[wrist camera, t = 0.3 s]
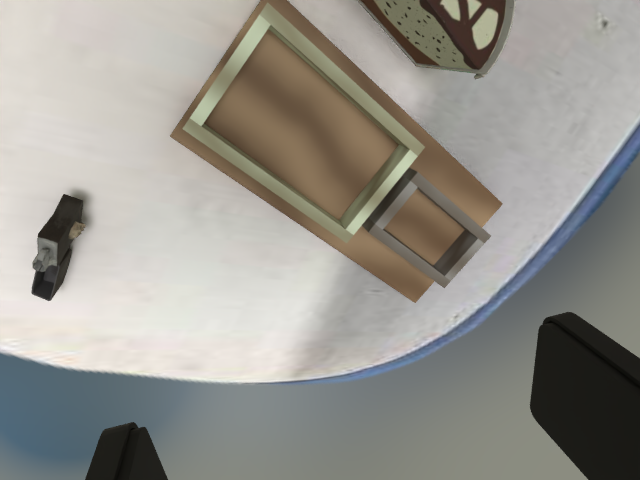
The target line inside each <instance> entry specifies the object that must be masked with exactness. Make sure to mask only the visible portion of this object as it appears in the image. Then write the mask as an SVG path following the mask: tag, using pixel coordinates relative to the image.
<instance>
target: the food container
mask: <svg viewBox="0 0 640 480" xmlns="http://www.w3.org/2000/svg"><path fill="white" fill-rule="evenodd" d="M357 1H358V2H359V3H360V4H361V5H362V6H363V7H364V8H365V10H366V11H367V12H368V13H369V14H370V15H371V16H372V17H373V18H374V20H375V21H376V22H377V23H378V24H379V25H380V26H381V27H382V29H383V30H384V31H385V32H386V33H387V34H388V35H389V36H390V37H391V39H392V40H393V41H394V42H395V43H396V44H397V45H398V46H399V47H400V49H401V50H402V51H403V52H404V53H405V54H406V55H407V56H408V58H409V59H410V60H411V61H412V62H413V63H414V64H415V65H416V66H419V67H427V68H435V69H444V70H452V71H460V72H468V73H476V75H475V77H474V78H475V79H478V78H481V77H484V76H485V75H486V74H488V72H489V71H490V70H491V68H492V67H493V66H494V64H495V63H496V61H497V60H498V58H499V56H500V54H501V53H502V51H503V49H504V46H505V44H506V42H507V39H508V37H509V33H510V30H511V27H512V23H513V18H514V12H515V3H516V0H357Z"/></svg>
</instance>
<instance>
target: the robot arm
mask: <svg viewBox="0 0 640 480" xmlns="http://www.w3.org/2000/svg"><path fill="white" fill-rule="evenodd" d="M530 409H531V412H532V415H533V417H534V418H535V420H536V421H537V422H538V424H539V425H540V426H541V427H542V428H543V429H544V430H545V431H546V432H547V434H548V435H549V436H550V437H551V438H552V439H553V440H554V441H555V443H556V444H557V445H558V446H559V447H560V448H561V449H562V450H563V452H564V453H565V454H566V455H567V456H568V457H569V458H570V459H571V461H572V462H573V463H574V464H575V465H576V466H577V467H578V468H579V469H580V471H581V472H582V473H583V474H584V475H585V476H586V477H587V479H588V480H640V358H638V357H637V356H635V355H634V354H633V353H631V352H630V351H628V350H627V349H625V348H624V347H622V346H621V345H620V344H618V343H617V342H615V341H614V340H612V339H611V338H609V337H608V336H607V335H605V334H603V333H602V332H601V331H599V330H598V329H596V328H595V327H593V326H592V325H591V324H589V323H588V322H586V321H585V320H583V319H582V318H580V317H579V316H577V315H576V314H574V313H572V312H566V313H562V314H558V315H555V316H550V317H547V318H546V319H545V320H544V321H543V325H541V326H540V328H539V333H538V340H537V350H536V358H535V366H534V375H533V384H532V394H531V402H530ZM85 480H168V479H167V476H166V474H165V471H164V469H163V467H162V464H161V462H160V460H159V457H158V455H157V452H156V450H155V447H154V445H153V443H152V440H151V438H150V435H149V433H148V431H147V429H146V428H145V427H141V428H138V427H137V425H136V424H135V423H134V422H131V423H128V424H124V425H120V426H116V427H112V428H108V429H105V430H104V431H103V432H102V434H101V436H100V439H99V441H98V444H97V447H96V450H95V453H94V456H93V459H92V462H91V465H90V467H89V470H88V473H87V476H86V479H85Z"/></svg>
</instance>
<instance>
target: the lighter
mask: <svg viewBox="0 0 640 480" xmlns="http://www.w3.org/2000/svg"><path fill="white" fill-rule="evenodd" d="M82 206H83V201H82V200H80V199H77V198H74V197H71V196H68V195H65V194H63V196H62V198H61V200H60V202H59V204H58V206H57V208H56V210H55V212H54V214H53V215H52V217H51V218H50V219H49V221H48V222H47V223H46V224H45V226H44V227H43V228H42V230H41V231H40V232H39V233H38V238H37V241H38V254H37V256H36V258H35V259H34V261H33V268H34V269H35V270H36V272H35V277H34V281H33V285H32V294H33V295H36V296H38V297H40V298H43V299H45V300H48V301H51V299H52V298H53V296H54V295H55V293H56V292H57V290H58V289H59V288H60V286H61V285H62V283H63V280H64V278H65V275H66V272H67V268H68V265H69V261H70V257H71V249H69V246H70V245H71V243H72V241H73V239H74V238H76V237H78V236H79V235H80V234H81V231H83V230H84V229H83V228H85V227H86V225H85V224H84V223H81V216H82Z"/></svg>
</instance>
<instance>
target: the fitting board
mask: <svg viewBox="0 0 640 480" xmlns="http://www.w3.org/2000/svg"><path fill="white" fill-rule="evenodd" d="M170 137H172V138H173V139H175V140H176V141H178V142H179V143H181V144H182V145H183V146H185V147H186V148H188V149H189V150H191V151H192V152H194V153H195V154H197V155H198V156H200V157H201V158H203V159H204V160H206V161H207V162H209V163H210V164H211V165H213V166H214V167H216V168H217V169H219V170H220V171H222V172H223V173H225V174H226V175H228V176H229V177H231V178H232V179H234V180H235V181H236V182H238V183H239V184H241V185H242V186H244V187H245V188H247V189H248V190H250V191H251V192H253V193H254V194H256V195H257V196H259V197H260V198H261V199H263V200H264V201H266V202H267V203H269V204H270V205H272V206H273V207H275V208H276V209H278V210H279V211H281V212H282V213H284V214H285V215H286V216H288V217H289V218H291V219H292V220H294V221H295V222H297V223H298V224H300V225H301V226H303V227H304V228H306V229H307V230H309V231H310V232H312V233H313V234H314V235H316V236H317V237H319V238H320V239H322V240H323V241H325V242H326V243H328V244H329V245H331V246H332V247H334V248H335V249H337V250H338V251H339V252H341V253H342V254H344V255H345V256H347V257H348V258H350V259H351V260H353V261H354V262H356V263H357V264H359V265H360V266H362V267H363V268H364V269H366V270H367V271H369V272H370V273H372V274H373V275H375V276H376V277H378V278H379V279H381V280H382V281H384V282H385V283H387V284H388V285H390V286H391V287H392V288H394V289H395V290H397V291H398V292H400V293H401V294H403V295H404V296H406V297H407V298H409V299H410V300H412V301H413V302H415V303H416V302H417V300H418V299H419V298H420V297H421V296H422V295H423V294H424V293H425V291H426V290H427V289H428V288H429V287H430V286H431V285H432V283H433V282H434V281H435V282H437V283H438V284H439V285H441V286H442V287H444V288H445V287H446V286H447V285H448V284H449V282H450V281H451V280H452V279H453V278H454V277H455V276H456V275H457V274H458V272H459V271H460V270H461V269H462V268H463V267H464V266H465V265H466V263H467V262H468V261H469V260H470V259H471V258H472V257H473V256H474V254H475V253H476V252H477V251H478V250H479V249H480V248H481V247H482V246H483V244H484V243H485V242H486V241H487V240H488V239H489V238H490V237H491V235H489V234H488V233H487V232H486V231H485V230H484V229H483V228H482V227H483V226H484V225H485V223H486V222H487V221H488V220H489V219H490V218H491V217H492V216H493V214H494V213H495V212H496V211H497V210H498V209H499V208H500V206H501V205H502V203H501V202H500V201H499V200H498V199H497V198H496V197H495V196H494V195H493V194H492V193H491V192H490V191H489V190H488V189H487V188H485V187H484V186H483V185H482V184H481V183H480V182H479V181H478V180H477V179H476V178H475V177H474V176H473V175H472V174H471V173H470V172H468V171H467V170H466V169H465V168H464V167H463V166H462V165H461V164H460V163H459V162H458V161H457V160H456V159H455V158H454V157H453V156H452V155H450V154H449V153H448V152H447V151H446V150H445V149H444V148H443V147H442V146H441V145H440V144H439V143H438V142H437V141H436V140H435V139H433V138H432V137H431V136H430V135H429V134H428V133H427V132H426V131H425V130H424V129H423V128H422V127H421V126H420V125H419V124H418V123H417V122H415V121H414V120H413V119H412V118H411V117H410V116H409V115H408V114H407V113H406V112H405V111H404V110H403V109H402V108H401V107H400V106H398V105H397V104H396V103H395V102H394V101H393V100H392V99H391V98H390V97H389V96H388V95H387V94H386V93H385V92H384V91H383V90H381V89H380V88H379V87H378V86H377V85H376V84H375V83H374V82H373V81H372V80H371V79H370V78H369V77H368V76H367V75H366V74H365V73H363V72H362V71H361V70H360V69H359V68H358V67H357V66H356V65H355V64H354V63H353V62H352V61H351V60H350V59H349V58H348V57H346V56H345V55H344V54H343V53H342V52H341V51H340V50H339V49H338V48H337V47H336V46H335V45H334V44H333V43H332V42H331V41H330V40H328V39H327V38H326V37H325V36H324V35H323V34H322V33H321V32H320V31H319V30H318V29H317V28H316V27H315V26H314V25H313V24H311V23H310V22H309V21H308V20H307V19H306V18H305V17H304V16H303V15H302V14H301V13H300V12H299V11H298V10H297V9H296V8H295V7H293V6H292V5H291V4H290V3H289V2H288V1H287V0H261V1H260V2H259V4H258V5H257V7H256V8H255V10H254V11H253V13H252V14H251V16H250V17H249V19H248V20H247V22H246V23H245V25H244V26H243V28H242V29H241V31H240V32H239V34H238V35H237V37H236V38H235V40H234V41H233V43H232V44H231V46H230V47H229V49H228V50H227V52H226V53H225V55H224V56H223V58H222V59H221V61H220V62H219V64H218V65H217V67H216V68H215V70H214V71H213V73H212V74H211V76H210V77H209V79H208V80H207V82H206V83H205V84H204V86H203V87H202V89H201V90H200V92H199V93H198V95H197V96H196V98H195V99H194V101H193V102H192V104H191V105H190V107H189V108H188V110H187V111H186V113H185V114H184V116H183V117H182V119H181V120H180V122H179V123H178V125H177V126H176V128H175V129H174V131H173V132H172V134H171V135H170Z"/></svg>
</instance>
